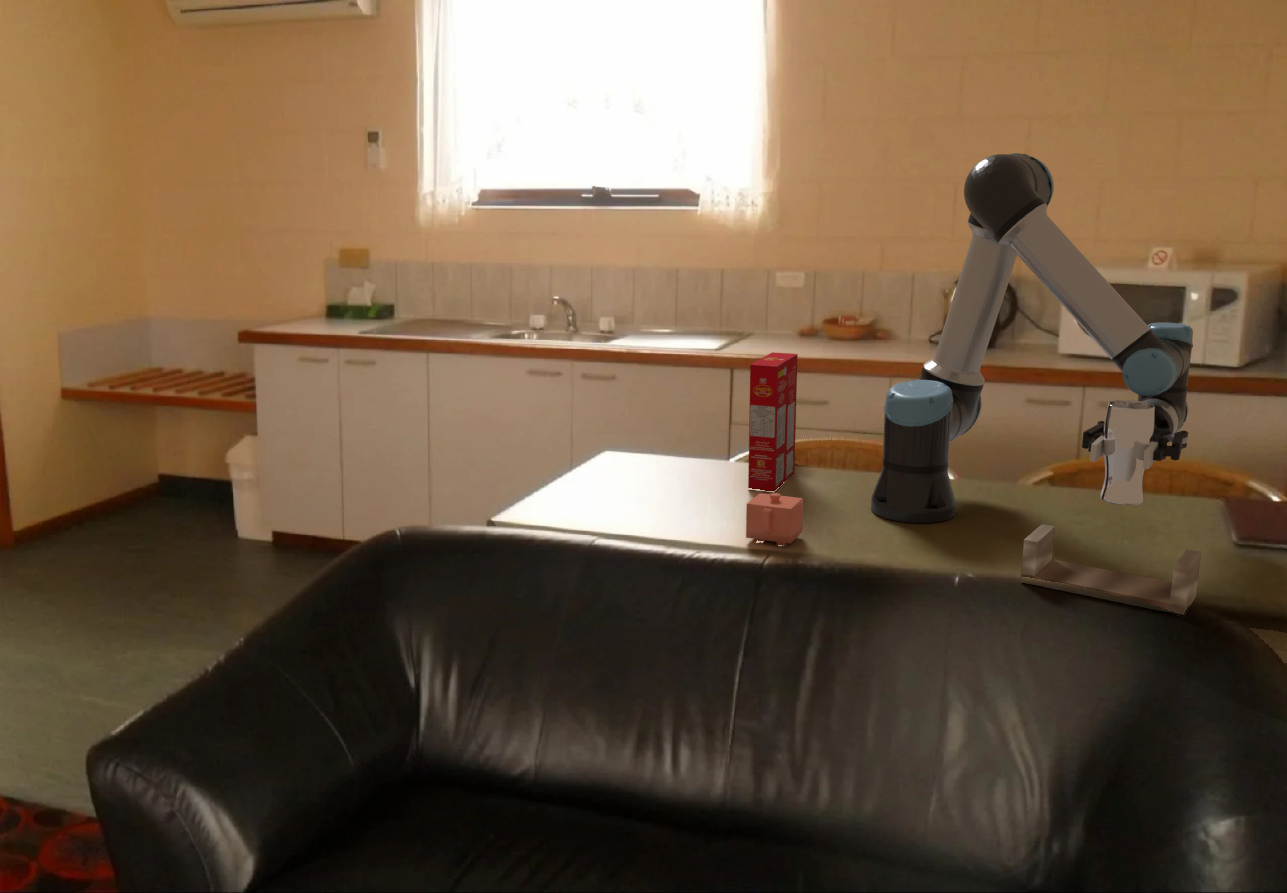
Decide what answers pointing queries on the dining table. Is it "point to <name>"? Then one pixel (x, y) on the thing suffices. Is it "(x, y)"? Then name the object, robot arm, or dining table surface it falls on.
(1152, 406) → the beer glass
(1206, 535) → the dining table surface
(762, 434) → the food packaging
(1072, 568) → the board
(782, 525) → the pink cube teapot
